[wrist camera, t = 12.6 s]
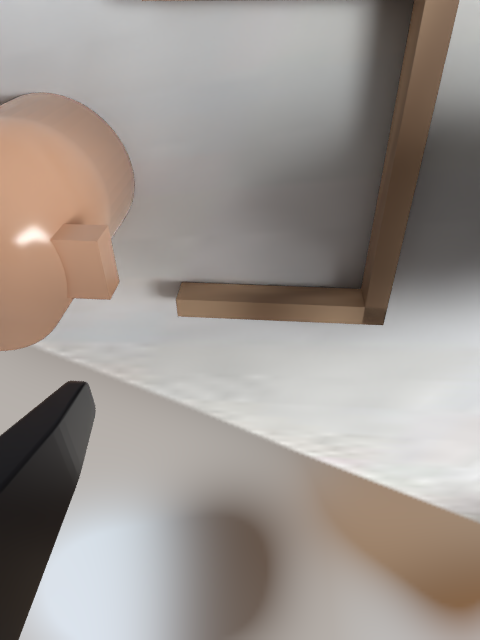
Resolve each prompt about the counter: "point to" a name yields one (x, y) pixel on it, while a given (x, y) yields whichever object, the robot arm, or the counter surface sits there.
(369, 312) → the cradle
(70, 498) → the robot arm
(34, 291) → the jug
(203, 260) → the counter surface
